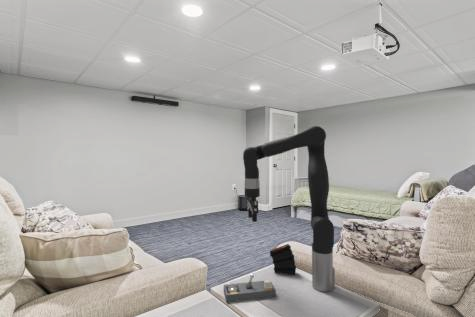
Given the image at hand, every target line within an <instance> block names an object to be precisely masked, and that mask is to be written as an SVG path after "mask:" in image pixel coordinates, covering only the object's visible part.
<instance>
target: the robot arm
mask: <svg viewBox="0 0 475 317" xmlns="http://www.w3.org/2000/svg"><path fill="white" fill-rule="evenodd" d="M326 138H327V132H326V130H325V129H324V128H323V127H321V126H317V125H314V126H311V127H309V128H307V129H305V130H304V131H301V132H299V133H296V134H294V135H293V134H292V135H289V136H286V137H282V138H279V139H274V140H271V141H268V142H263V144H260V145H256V146H249V147H246V148H245V149H244V151H243V154H242V155H243V156H242V159H243V166H244V182H243V183H244V197H245V198H246V208H247V215H248V216H247V217H248V218H251V221H252V222H253V223H256V222H258V214H259V201H258V200H257V198H259V197H260V196H261V195H260V192H261V191H260V189H261V187H260V170H259V167H258V160H262V159H264V158H268V157H269V158H270V157H273V156H277V155H281V154H284V153H286V152H289V151H291V150H294V149H299V148H304V147H307V153H308V165H307V181H308V193H309V199H310V206H311V207H310V208H311V210H310V212H311V213H310V227H311V229H312V244H311V270H312V271H311V277H312V278H311V281H312V284H311V286H312V287H313V289H315V290H317V291H319V292H322V293H323V292H328V293H329V292H331V291H332V290H334V289H336V286H335V284H336V281H335V280H336V278H335V276H336V271H335V270H336V268H335V267H334V265H333V264H334V263H333V262H334V257H333V255H334V252H333V251H334V250H333V249H334V245H335V227H334V224H333V222H332V221H331V220H330V217H329V212H328V205H327V204H328V199H329V192H330V178H329V171H328V166H327V161H326V157H325V141H326Z"/></svg>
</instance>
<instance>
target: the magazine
mask: <svg viewBox="0 0 475 317" xmlns="http://www.w3.org/2000/svg"><path fill="white" fill-rule="evenodd" d="M269 256H270V258H271V259H272V264H273V271H274V273H275V274H285V275H290V276H296V272H297V271H296V270H297V265H296V260H295V254H293V251H292V249H291V245H289V243H287V244H284V245H282V246H278V247H276V248H274V249H271V250H270V251H269Z"/></svg>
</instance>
